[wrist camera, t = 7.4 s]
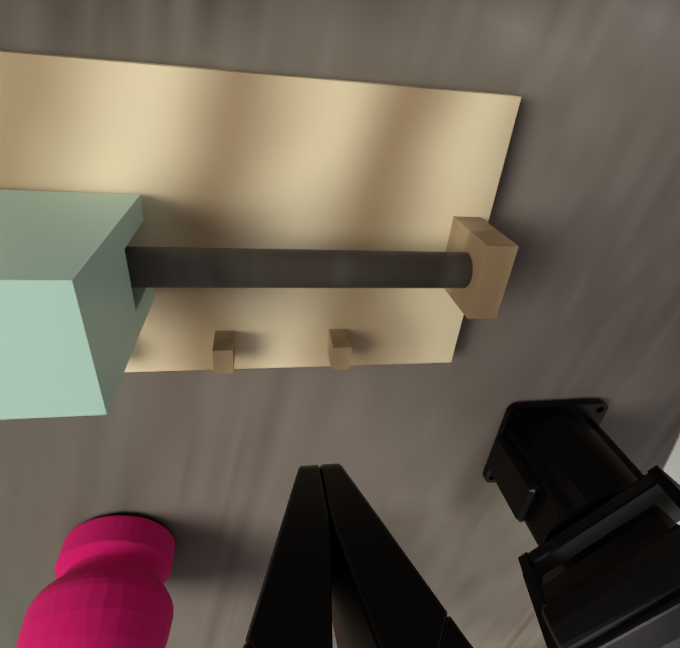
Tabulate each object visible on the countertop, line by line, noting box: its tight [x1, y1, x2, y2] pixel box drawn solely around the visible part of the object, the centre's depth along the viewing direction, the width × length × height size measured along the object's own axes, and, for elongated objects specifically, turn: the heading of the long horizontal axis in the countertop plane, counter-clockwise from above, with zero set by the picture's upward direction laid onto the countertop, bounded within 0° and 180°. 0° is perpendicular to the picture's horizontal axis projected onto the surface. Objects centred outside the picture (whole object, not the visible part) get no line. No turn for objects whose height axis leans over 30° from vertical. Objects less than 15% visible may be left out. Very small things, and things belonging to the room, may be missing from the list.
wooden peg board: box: [0, 50, 521, 374], centre depth 16 cm, size 22×12×5 cm, turn 85°
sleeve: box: [0, 190, 156, 419], centre depth 13 cm, size 5×4×7 cm
